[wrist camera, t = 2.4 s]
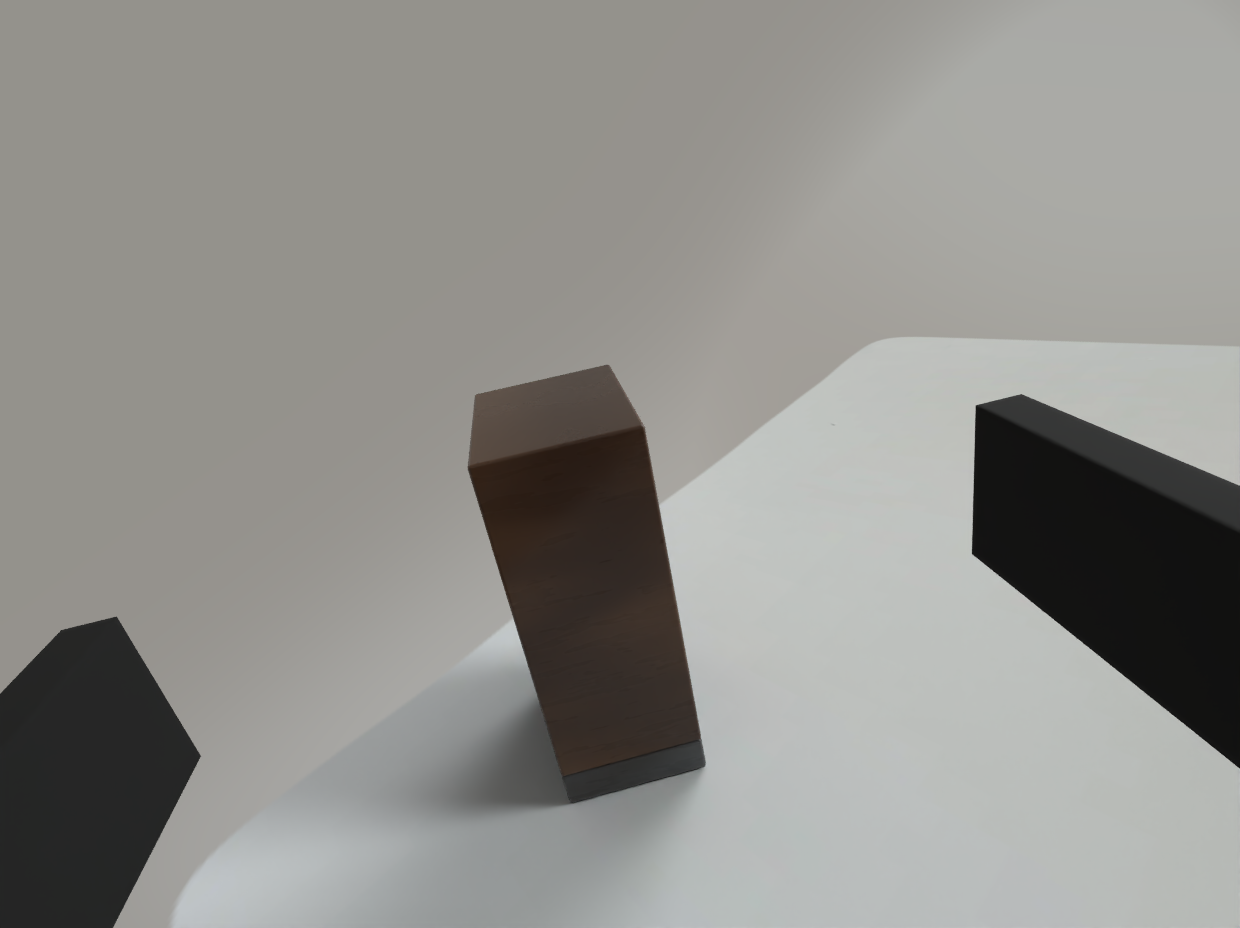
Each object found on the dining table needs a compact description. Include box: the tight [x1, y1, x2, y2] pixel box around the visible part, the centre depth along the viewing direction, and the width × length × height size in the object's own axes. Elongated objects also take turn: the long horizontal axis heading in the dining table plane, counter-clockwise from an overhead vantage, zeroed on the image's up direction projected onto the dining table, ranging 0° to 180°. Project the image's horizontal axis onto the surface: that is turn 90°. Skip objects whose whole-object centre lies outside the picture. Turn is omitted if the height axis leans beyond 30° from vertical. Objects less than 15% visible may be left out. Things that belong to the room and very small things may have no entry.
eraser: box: [468, 365, 706, 803], centre depth 22 cm, size 4×6×12 cm
